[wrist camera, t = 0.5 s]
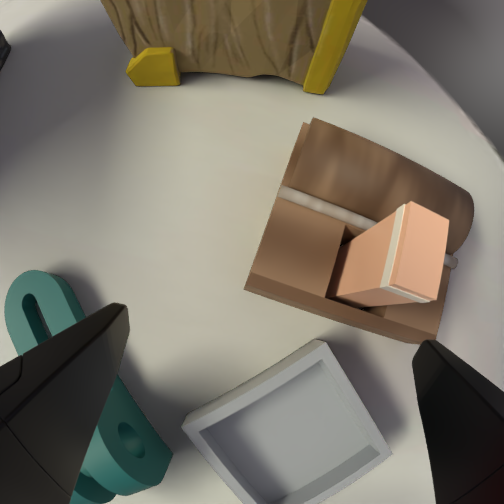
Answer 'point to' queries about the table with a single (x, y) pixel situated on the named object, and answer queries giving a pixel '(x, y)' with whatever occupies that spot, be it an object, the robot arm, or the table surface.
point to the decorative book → (235, 38)
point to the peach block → (392, 261)
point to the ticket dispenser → (350, 226)
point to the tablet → (3, 49)
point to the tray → (289, 432)
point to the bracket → (116, 407)
